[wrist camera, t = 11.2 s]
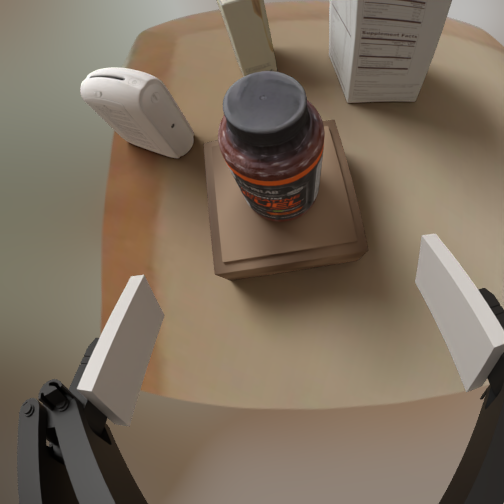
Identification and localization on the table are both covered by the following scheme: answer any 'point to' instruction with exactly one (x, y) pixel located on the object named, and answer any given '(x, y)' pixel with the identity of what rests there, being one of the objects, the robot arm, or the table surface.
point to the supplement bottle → (272, 144)
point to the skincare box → (249, 34)
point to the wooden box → (287, 232)
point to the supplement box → (384, 46)
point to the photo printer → (139, 110)
